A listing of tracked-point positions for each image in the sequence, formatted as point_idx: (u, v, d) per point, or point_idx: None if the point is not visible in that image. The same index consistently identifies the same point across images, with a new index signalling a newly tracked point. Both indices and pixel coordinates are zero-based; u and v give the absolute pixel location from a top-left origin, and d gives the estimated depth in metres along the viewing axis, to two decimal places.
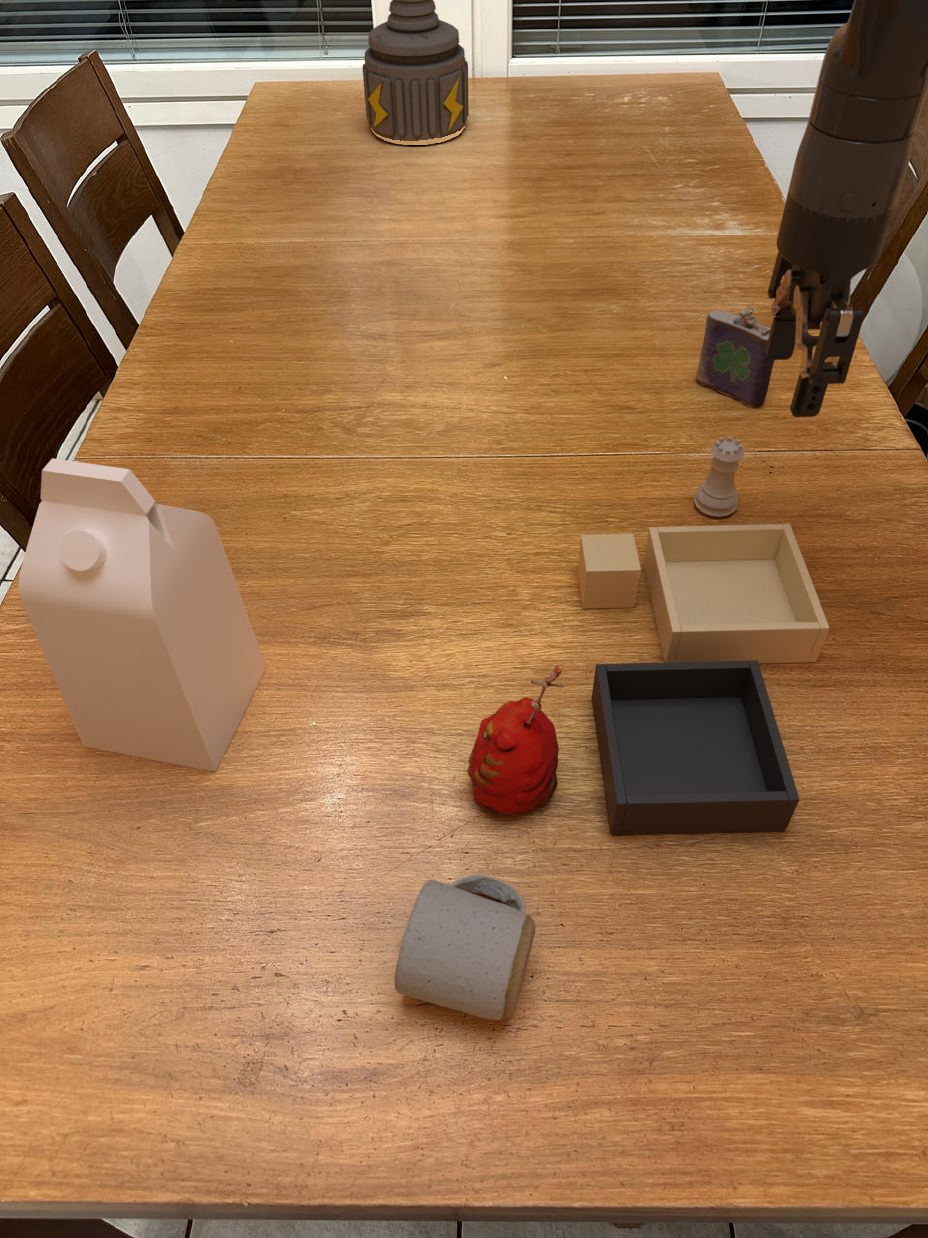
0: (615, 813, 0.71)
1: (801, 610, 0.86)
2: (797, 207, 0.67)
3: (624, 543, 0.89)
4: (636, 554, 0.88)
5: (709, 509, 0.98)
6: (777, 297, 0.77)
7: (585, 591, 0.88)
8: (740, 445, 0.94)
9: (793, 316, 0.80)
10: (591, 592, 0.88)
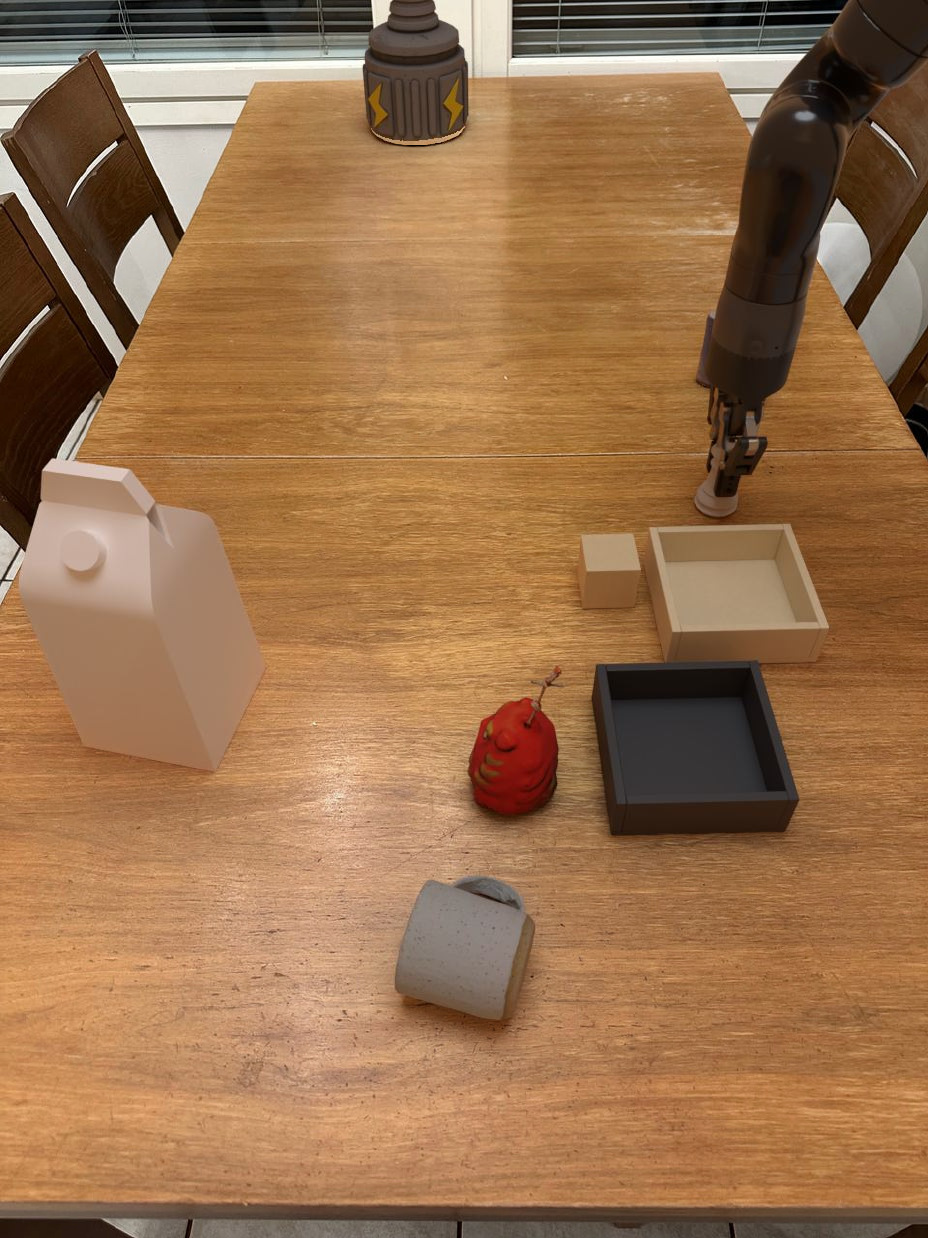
0: (615, 813, 0.71)
1: (801, 610, 0.86)
2: (718, 346, 0.84)
3: (624, 543, 0.89)
4: (636, 554, 0.88)
5: (709, 509, 0.98)
6: (711, 418, 0.94)
7: (585, 591, 0.88)
8: None
9: None
10: (591, 592, 0.88)
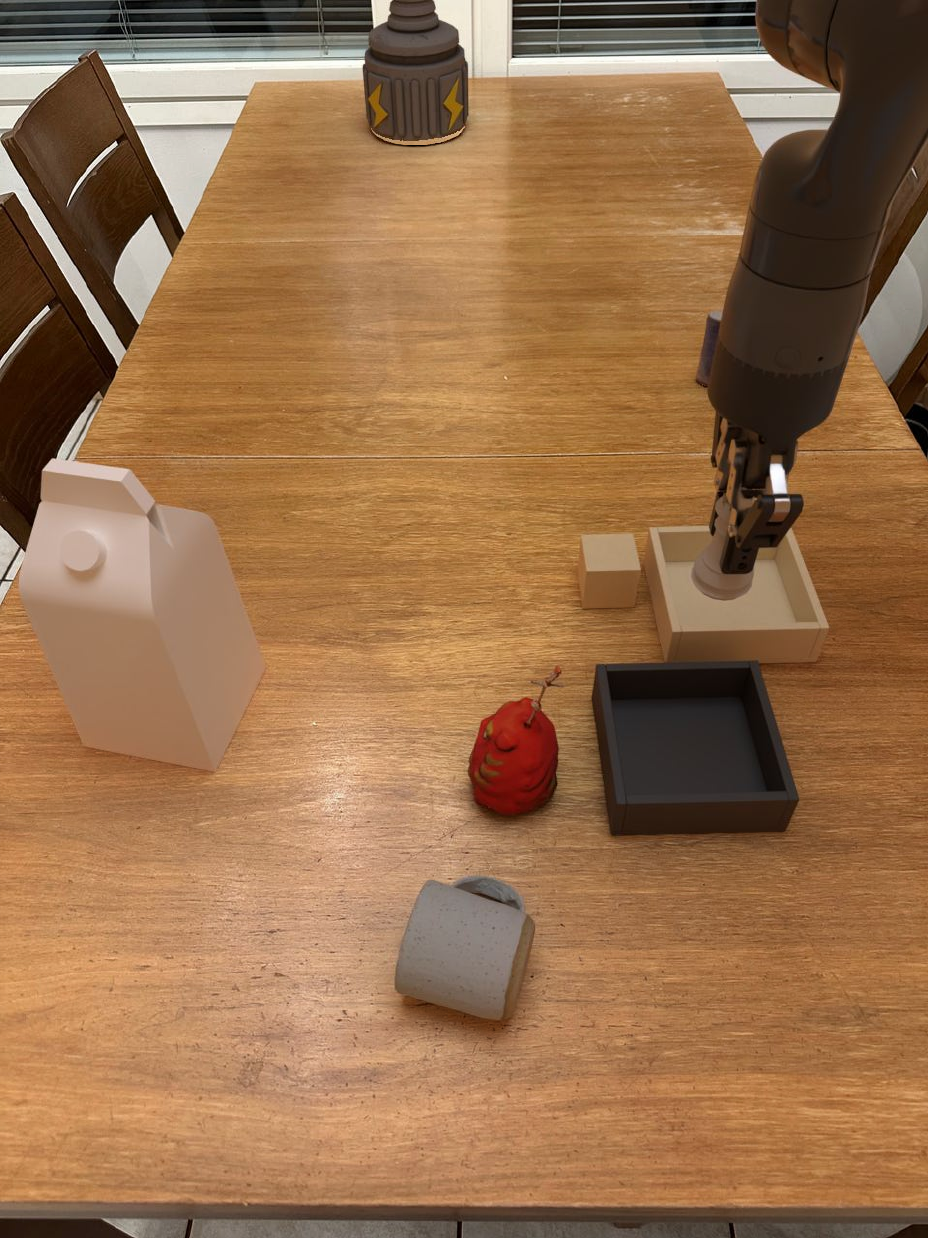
0: (615, 813, 0.71)
1: (801, 610, 0.86)
2: (727, 355, 0.54)
3: (624, 543, 0.89)
4: (636, 554, 0.88)
5: (712, 589, 0.68)
6: (717, 460, 0.64)
7: (585, 591, 0.88)
8: None
9: None
10: (591, 592, 0.88)
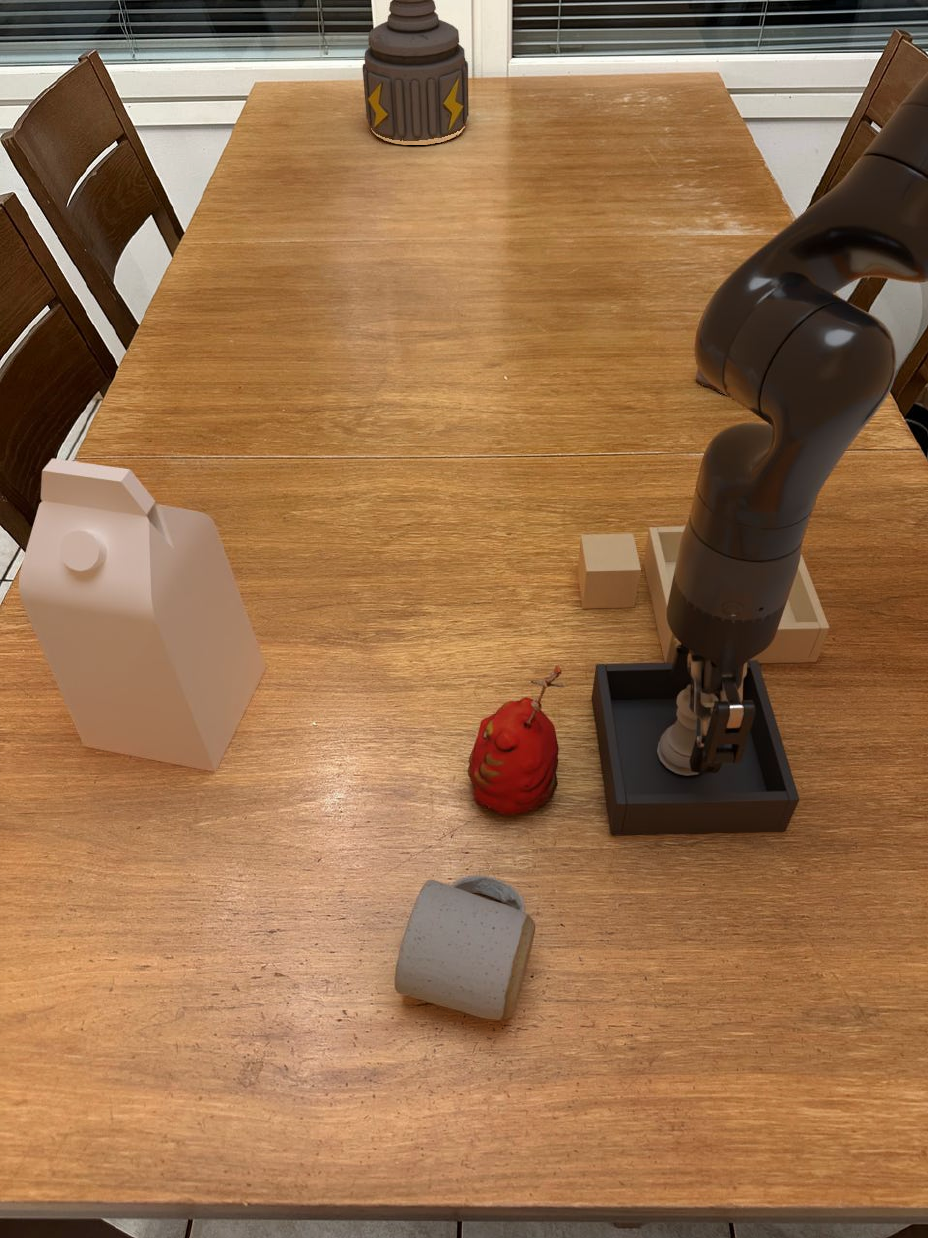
0: (615, 813, 0.71)
1: (801, 610, 0.86)
2: (681, 596, 0.62)
3: (624, 543, 0.89)
4: (636, 554, 0.88)
5: (676, 766, 0.76)
6: (676, 640, 0.72)
7: (585, 591, 0.88)
8: (714, 698, 0.72)
9: None
10: (591, 592, 0.88)
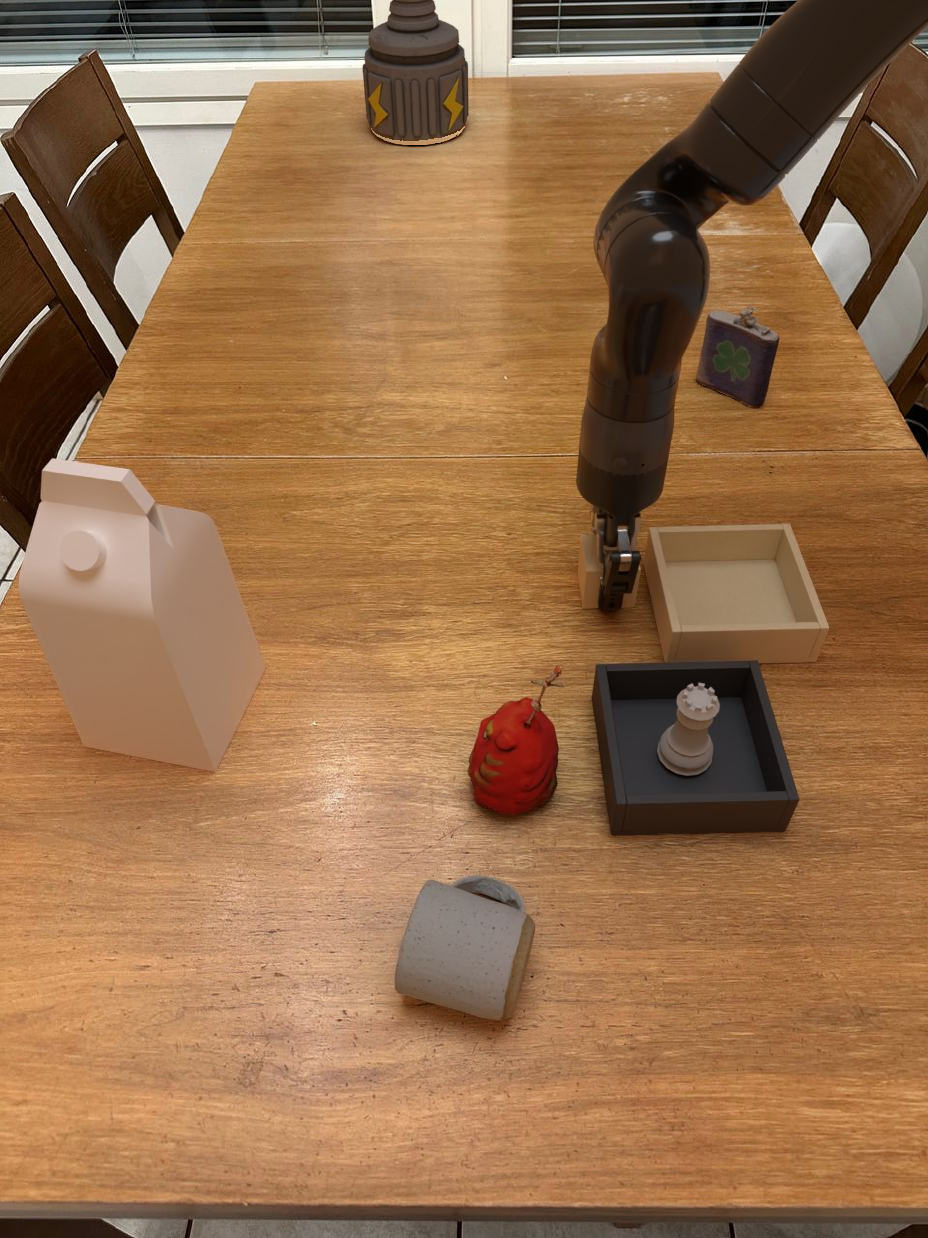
0: (615, 813, 0.71)
1: (801, 610, 0.86)
2: (583, 459, 0.78)
3: None
4: None
5: (676, 766, 0.76)
6: (591, 519, 0.88)
7: (585, 591, 0.88)
8: (714, 698, 0.72)
9: None
10: (591, 592, 0.88)
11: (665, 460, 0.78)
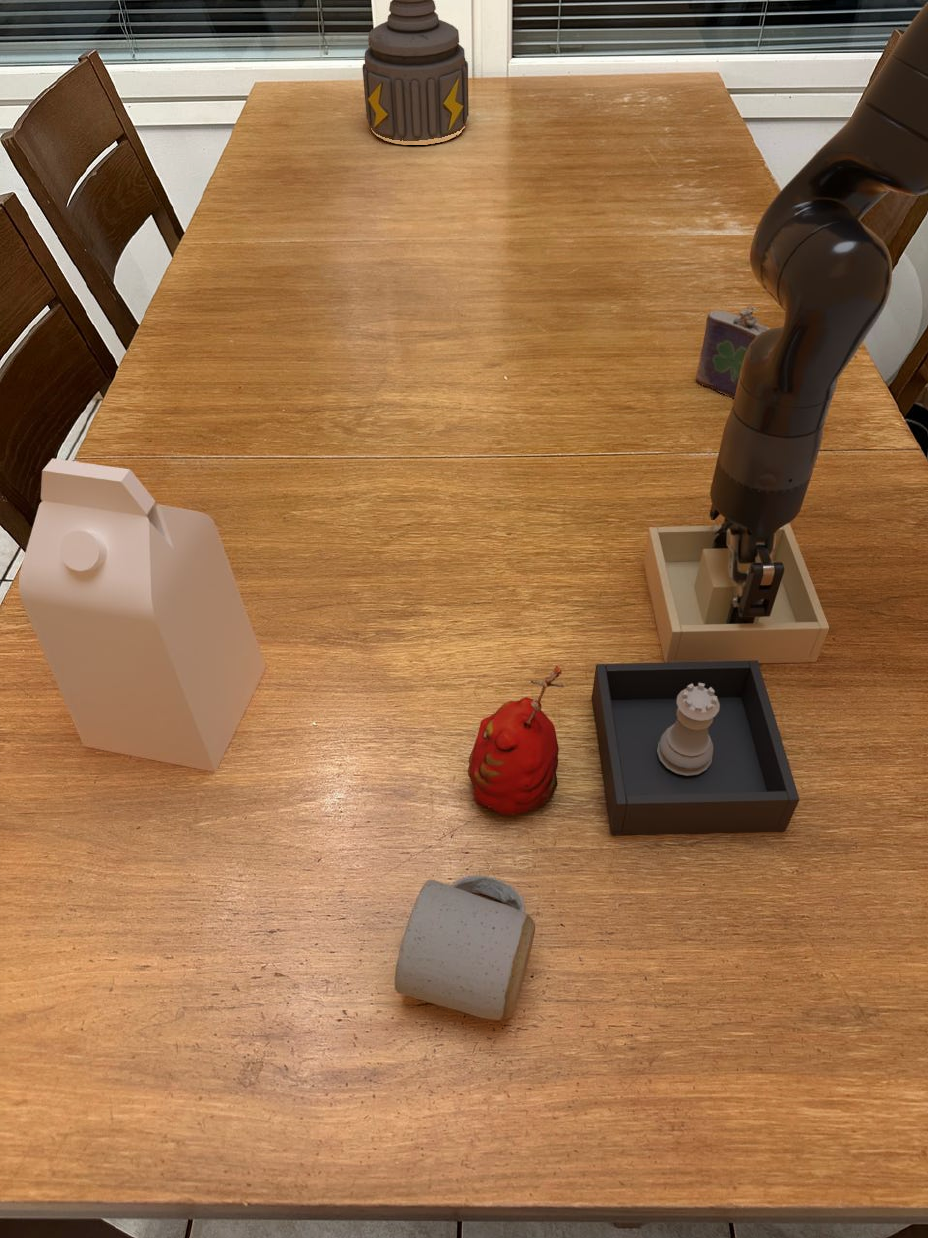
0: (615, 813, 0.71)
1: (801, 610, 0.86)
2: (724, 474, 0.76)
3: None
4: None
5: (676, 766, 0.76)
6: (715, 526, 0.86)
7: (709, 607, 0.86)
8: (714, 698, 0.72)
9: None
10: (715, 608, 0.86)
11: (810, 475, 0.75)
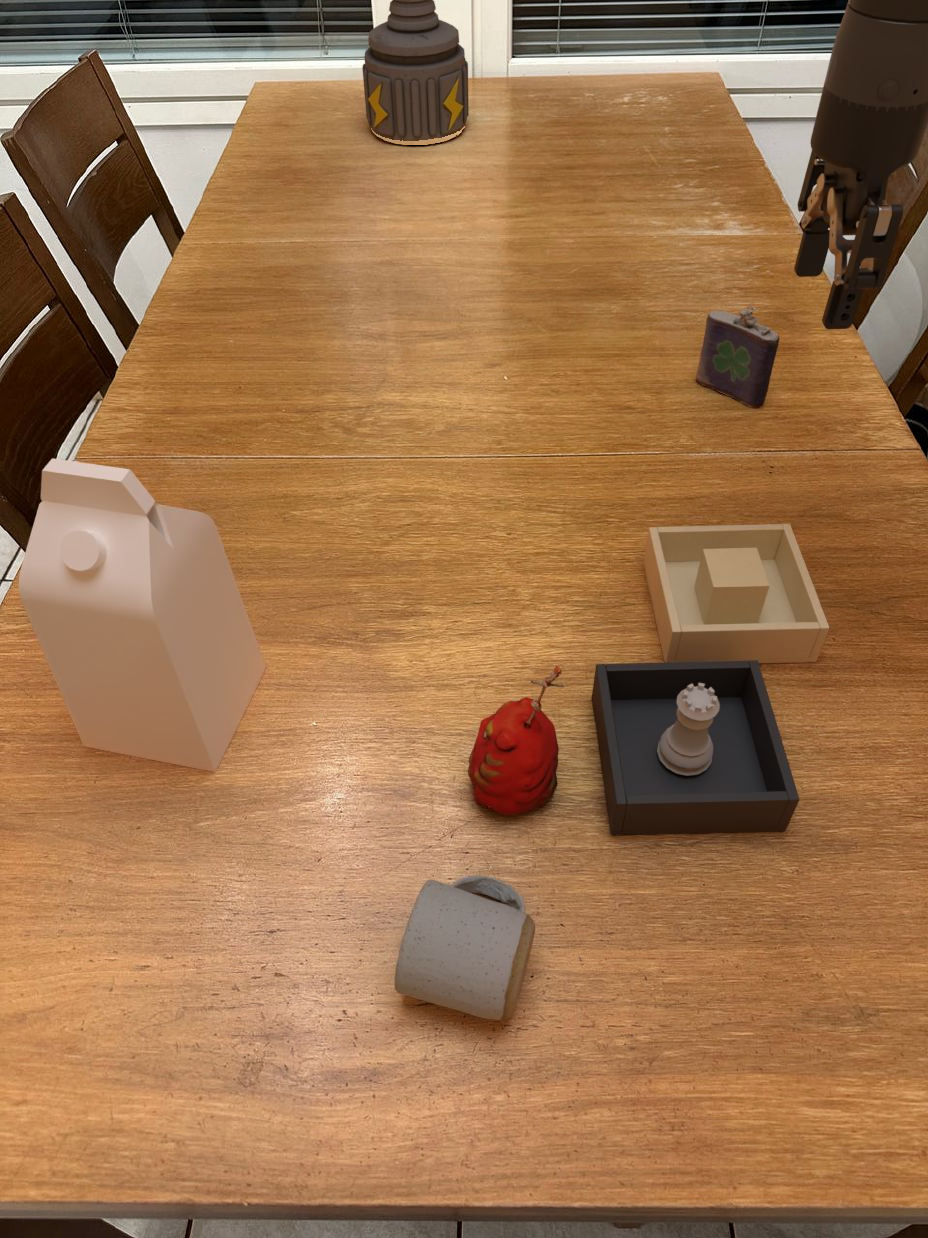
0: (615, 813, 0.71)
1: (801, 610, 0.86)
2: (834, 99, 0.65)
3: (749, 558, 0.86)
4: (763, 569, 0.85)
5: (676, 766, 0.76)
6: (808, 206, 0.75)
7: (709, 607, 0.86)
8: (714, 698, 0.72)
9: (824, 228, 0.77)
10: (715, 608, 0.86)
11: None
